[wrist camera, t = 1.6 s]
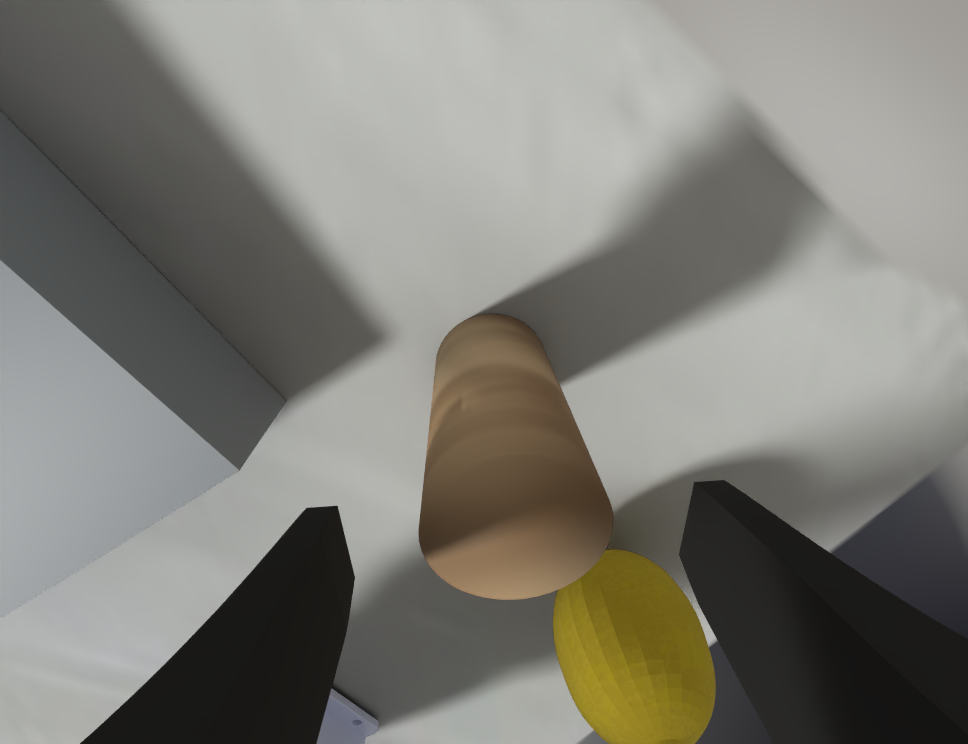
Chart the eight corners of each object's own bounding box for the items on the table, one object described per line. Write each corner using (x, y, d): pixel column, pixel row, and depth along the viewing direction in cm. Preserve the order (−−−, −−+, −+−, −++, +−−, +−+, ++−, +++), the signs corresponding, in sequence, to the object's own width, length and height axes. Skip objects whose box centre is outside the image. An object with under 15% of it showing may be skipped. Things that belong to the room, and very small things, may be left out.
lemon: (514, 562, 21) (543, 777, 14) (603, 489, 19) (690, 690, 12) (593, 611, 23) (655, 823, 16) (681, 548, 21) (796, 753, 14)
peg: (565, 379, 17) (643, 550, 10) (474, 430, 18) (486, 622, 11) (509, 291, 15) (556, 418, 8) (413, 352, 16) (378, 516, 9)
